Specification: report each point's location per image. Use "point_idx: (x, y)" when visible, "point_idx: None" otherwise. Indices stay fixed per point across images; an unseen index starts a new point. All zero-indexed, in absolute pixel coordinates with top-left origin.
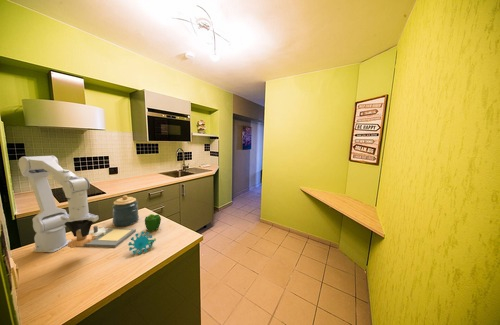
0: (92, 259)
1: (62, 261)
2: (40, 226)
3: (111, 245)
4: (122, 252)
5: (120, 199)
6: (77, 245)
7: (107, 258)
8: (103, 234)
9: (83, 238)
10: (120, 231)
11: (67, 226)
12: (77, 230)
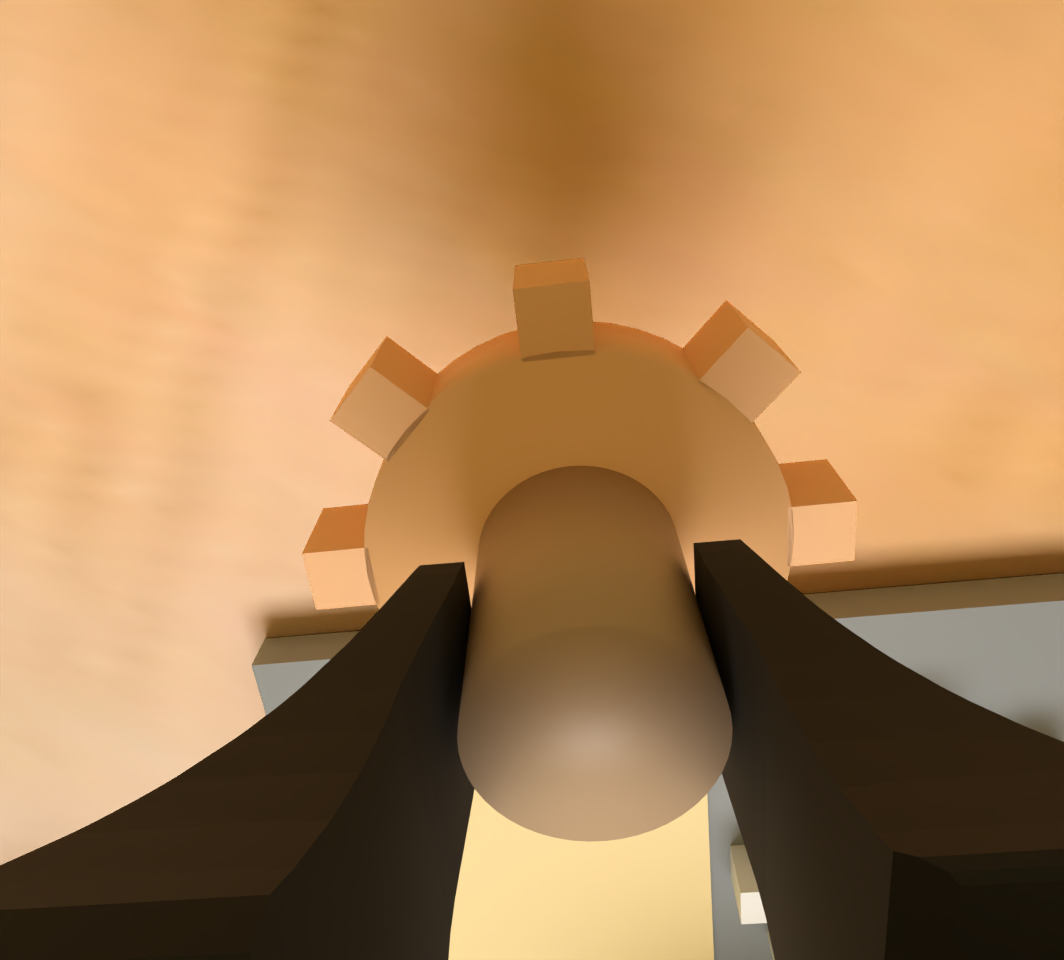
0: (315, 328)
1: (807, 200)
2: None
3: (325, 651)
4: (7, 548)
5: None
6: (479, 350)
7: (85, 388)
8: (747, 859)
9: (480, 549)
10: (546, 953)
11: (1053, 752)
12: (717, 718)
